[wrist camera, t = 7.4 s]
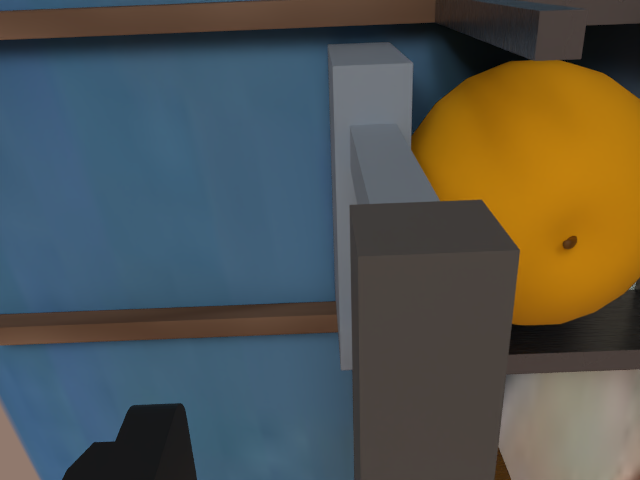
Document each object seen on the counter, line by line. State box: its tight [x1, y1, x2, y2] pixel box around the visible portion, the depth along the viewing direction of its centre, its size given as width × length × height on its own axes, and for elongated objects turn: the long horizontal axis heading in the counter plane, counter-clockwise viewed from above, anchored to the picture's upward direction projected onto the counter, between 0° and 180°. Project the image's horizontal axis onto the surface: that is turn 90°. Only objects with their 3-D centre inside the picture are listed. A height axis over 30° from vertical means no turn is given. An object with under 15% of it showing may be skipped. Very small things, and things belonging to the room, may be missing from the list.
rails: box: [0, 0, 436, 345], centre depth 21 cm, size 12×17×1 cm
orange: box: [411, 60, 640, 325], centre depth 18 cm, size 8×8×8 cm
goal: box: [435, 0, 640, 480], centre depth 17 cm, size 12×9×10 cm
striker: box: [328, 42, 520, 480], centre depth 15 cm, size 9×2×14 cm, turn 2°
